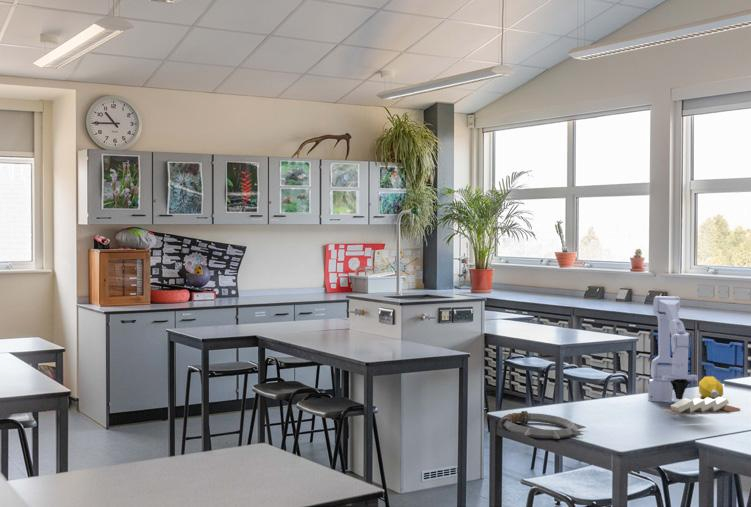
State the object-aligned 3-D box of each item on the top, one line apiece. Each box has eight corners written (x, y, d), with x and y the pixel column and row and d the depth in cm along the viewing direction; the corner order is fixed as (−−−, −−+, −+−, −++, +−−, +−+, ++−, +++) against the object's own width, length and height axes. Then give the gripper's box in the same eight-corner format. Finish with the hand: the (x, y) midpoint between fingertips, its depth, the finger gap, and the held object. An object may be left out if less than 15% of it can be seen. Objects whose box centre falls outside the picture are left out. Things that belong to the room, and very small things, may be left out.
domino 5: (716, 407, 334) (730, 411, 336) (724, 409, 330) (739, 413, 331) (717, 402, 334) (732, 406, 336) (725, 405, 330) (740, 408, 331)
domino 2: (689, 407, 326) (704, 400, 327) (681, 405, 330) (696, 397, 332) (691, 412, 326) (705, 404, 327) (683, 409, 331) (697, 402, 332)
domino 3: (700, 407, 327) (715, 399, 328) (693, 404, 332) (707, 397, 333) (702, 411, 327) (717, 404, 329) (694, 409, 332) (709, 401, 333)
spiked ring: (481, 432, 287) (562, 450, 269) (481, 419, 287) (563, 436, 269) (525, 417, 314) (602, 432, 296) (526, 405, 314) (603, 420, 296)
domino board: (672, 415, 322) (672, 413, 322) (660, 411, 330) (660, 409, 330) (730, 413, 329) (730, 411, 328) (717, 409, 336) (717, 407, 336)
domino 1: (678, 407, 324) (692, 400, 326) (670, 405, 329) (685, 397, 331) (679, 412, 325) (694, 404, 326) (672, 409, 330) (686, 402, 331)
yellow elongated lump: (709, 411, 343) (698, 388, 344) (701, 398, 372) (691, 377, 373) (733, 401, 341) (721, 379, 342) (723, 389, 370) (712, 368, 371)
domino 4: (712, 406, 328) (727, 398, 330) (704, 404, 333) (718, 396, 334) (714, 411, 328) (728, 403, 330) (706, 408, 333) (720, 400, 335)
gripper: (669, 366, 321) (668, 401, 322) (702, 365, 325) (701, 400, 325) (659, 363, 328) (658, 397, 328) (691, 362, 332) (690, 396, 332)
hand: (679, 398), depth 327 cm, fingers closed
